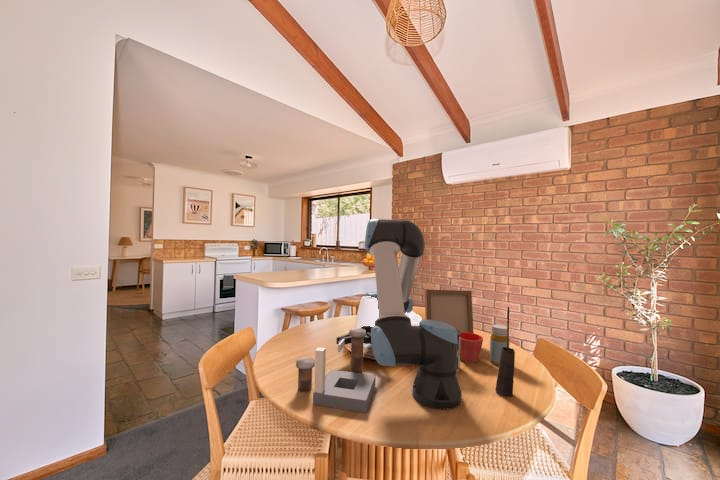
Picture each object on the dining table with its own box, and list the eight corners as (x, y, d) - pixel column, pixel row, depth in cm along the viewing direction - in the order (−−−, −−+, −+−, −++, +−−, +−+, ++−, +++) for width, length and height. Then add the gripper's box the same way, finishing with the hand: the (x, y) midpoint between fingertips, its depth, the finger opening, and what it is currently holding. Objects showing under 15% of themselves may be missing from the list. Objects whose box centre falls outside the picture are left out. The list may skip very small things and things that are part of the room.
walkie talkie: (521, 406, 89) (523, 313, 89) (487, 396, 94) (489, 309, 94) (523, 393, 97) (525, 308, 97) (491, 385, 102) (494, 304, 102)
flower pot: (488, 362, 121) (489, 338, 121) (467, 366, 117) (467, 341, 117) (470, 352, 131) (470, 330, 131) (449, 355, 127) (450, 333, 127)
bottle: (489, 364, 119) (490, 327, 119) (490, 358, 125) (491, 323, 125) (508, 368, 116) (509, 330, 116) (508, 361, 122) (509, 325, 122)
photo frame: (473, 346, 140) (475, 293, 140) (427, 344, 140) (428, 291, 140) (464, 335, 155) (465, 287, 154) (422, 334, 155) (423, 286, 155)
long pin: (368, 375, 107) (369, 331, 107) (355, 380, 103) (357, 334, 103) (357, 369, 111) (358, 327, 111) (344, 374, 107) (346, 330, 107)
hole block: (375, 385, 100) (376, 338, 99) (365, 412, 84) (367, 356, 84) (330, 379, 103) (331, 333, 103) (312, 404, 88) (314, 350, 87)
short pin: (317, 389, 96) (318, 361, 96) (301, 395, 92) (302, 366, 92) (307, 382, 101) (308, 355, 101) (292, 387, 97) (292, 360, 97)
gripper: (396, 344, 125) (390, 364, 105) (340, 338, 131) (323, 356, 110) (397, 326, 125) (391, 343, 105) (340, 321, 131) (324, 336, 110)
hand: (356, 350), depth 108 cm, fingers open, 13 cm apart
